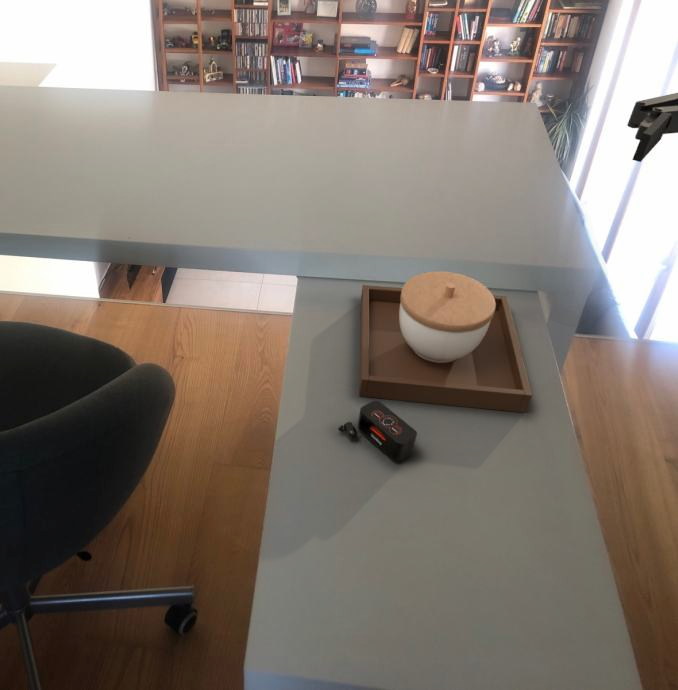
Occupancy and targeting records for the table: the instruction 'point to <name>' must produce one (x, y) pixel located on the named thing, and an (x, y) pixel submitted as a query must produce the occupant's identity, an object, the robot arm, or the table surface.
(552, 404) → the table surface
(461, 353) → the trinket box
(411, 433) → the wireless earbuds
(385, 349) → the tray
